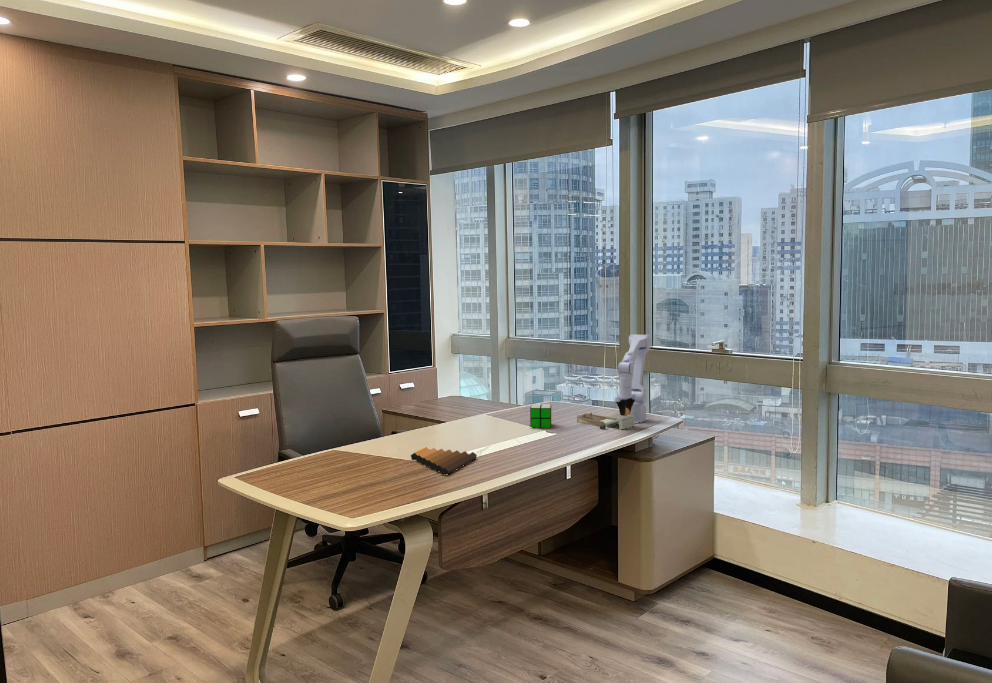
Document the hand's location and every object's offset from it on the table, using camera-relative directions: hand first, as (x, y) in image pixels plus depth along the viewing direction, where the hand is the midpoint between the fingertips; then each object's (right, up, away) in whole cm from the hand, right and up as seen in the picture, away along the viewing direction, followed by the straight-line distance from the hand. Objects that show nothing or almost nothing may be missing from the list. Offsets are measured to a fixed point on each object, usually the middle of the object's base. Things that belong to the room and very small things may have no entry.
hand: (625, 414), depth 340 cm
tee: (-11, -7, -2) cm, 13 cm away
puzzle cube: (-40, -6, +6) cm, 41 cm away
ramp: (-4, -6, +5) cm, 9 cm away
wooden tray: (-12, -5, +12) cm, 18 cm away
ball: (0, +1, 0) cm, 1 cm away
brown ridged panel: (-86, -14, -62) cm, 107 cm away
